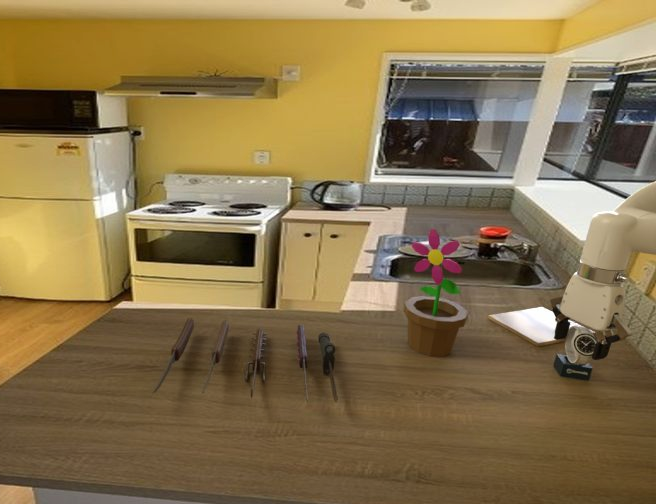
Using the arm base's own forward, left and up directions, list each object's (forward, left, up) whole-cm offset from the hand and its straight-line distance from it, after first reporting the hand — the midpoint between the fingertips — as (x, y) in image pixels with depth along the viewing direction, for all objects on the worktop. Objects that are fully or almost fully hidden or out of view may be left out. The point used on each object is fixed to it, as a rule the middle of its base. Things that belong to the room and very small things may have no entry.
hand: (578, 347), depth 92 cm
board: (-13, -19, -6) cm, 24 cm away
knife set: (+68, -20, -7) cm, 71 cm away
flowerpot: (+23, -19, -7) cm, 30 cm away
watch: (0, 0, -7) cm, 7 cm away
